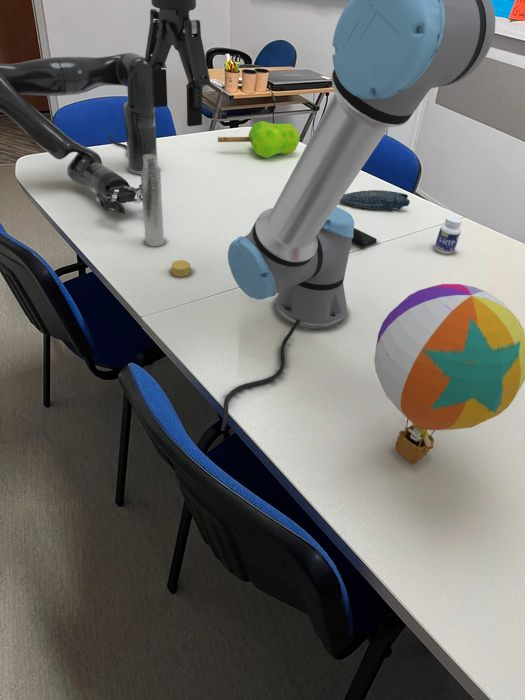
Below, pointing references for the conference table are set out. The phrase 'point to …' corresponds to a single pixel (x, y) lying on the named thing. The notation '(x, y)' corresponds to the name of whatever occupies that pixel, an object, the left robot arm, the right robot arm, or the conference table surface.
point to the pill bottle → (448, 235)
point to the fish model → (376, 199)
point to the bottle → (152, 201)
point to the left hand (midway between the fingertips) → (138, 207)
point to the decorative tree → (269, 139)
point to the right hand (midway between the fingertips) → (176, 115)
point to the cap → (181, 268)
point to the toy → (448, 362)
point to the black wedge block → (362, 238)
